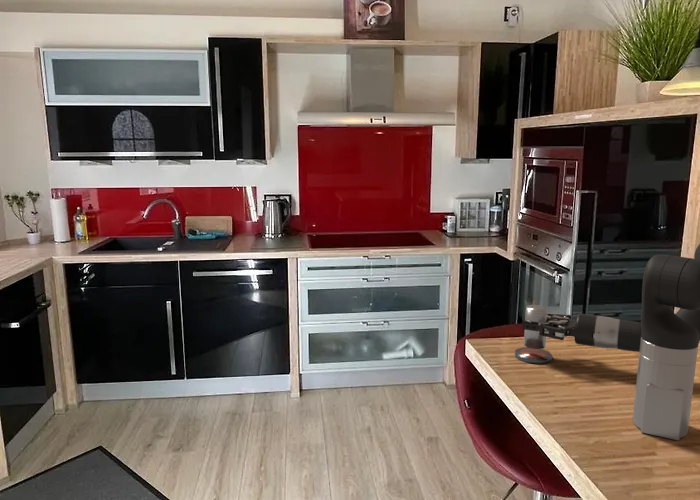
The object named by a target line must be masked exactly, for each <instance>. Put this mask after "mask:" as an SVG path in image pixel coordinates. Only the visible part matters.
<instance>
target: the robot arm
mask: <svg viewBox="0 0 700 500" xmlns="http://www.w3.org/2000/svg"><path fill="white" fill-rule="evenodd" d="M643 271H644V272H643V278H642V286H641V287H642V288H641V310H640V311H641V314H640V322H639V321H635V320H634V321H633V320H627V319H626V320H625V319H620V318H614V317H609V316H604V315H602V316H601V315H594V314H586V313H578V314H577V316H576V319H573V318H572V314H562V313H561V314H560V313H547V323H546V322H539V323H538V322H533V321H526V320H525V319H524V320H523V321H522V329H523V330H524V331H525V330H531V331H538V333H539V335H540V336H545V337H546V338H551V339H555V340H559V341H564V340H565V338H567V337H573V338H574V342H575V344H576V345H580V346H587V347H594V348H600V349H609V350H610V349H614V350H620V351H627V352H634V353H635V352H637V353H638V354H639V355H638V364H637V371H636V372H637V373H636V381H635V392H634V403H633V414H632V422H633V424H634V425H635V427H636V428H639V429H640V433H644V434H648V435H652V436H657V437H661V438H666V439H669V440H670V439H671V440H675V441H680V439H681V438H684V437H685V436H687V435H688V434H689V427H690V418H691V417H690V416H691V408H692V401H693V391H694V386H695V385H694V384H695V383H694V382H695V376H696V367H697V360H698V353H699V352H698V351H699V346H700V345H699V343H700V243H699V244H698V245H697V247H696V248H695V251H694V258H691V257H685V256H676V255H669V254H655V255H653V256H651V257H650V259H648V261H647V263H646V264H645V267H644V270H643ZM671 307H674V308H677V309H679V310H677V311H676V313H675V312H674V311H673V310H672V308H671ZM545 329H546V330H545Z"/></svg>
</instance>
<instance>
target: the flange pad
mask: <svg viewBox="0 0 700 500" xmlns="http://www.w3.org/2000/svg"><path fill="white" fill-rule="evenodd" d="M514 357H515V358H516V359H517V360H519V361H521V362H524V363H528V364H533V365H543V364H545V365H546V364H549V363H551V362H552V360H553V355H552V353H551V352H550V351H548V350H546V349H544V348H542V349H532V348H528V347H526V346H524V347H518V348H516V349H515V352H514Z"/></svg>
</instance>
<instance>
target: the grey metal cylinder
mask: <svg viewBox="0 0 700 500" xmlns="http://www.w3.org/2000/svg"><path fill="white" fill-rule="evenodd" d="M524 314H525V316H524V320H526V321H533V322H538V323H539V322H546V323H547V314H548V307H547V306H544V305H538V304H529V305H528V304H527V305H526V306H525V313H524ZM545 330H547V329H545ZM523 337H524V338H523V346H524V347H528V348H532V349H545V348H546V344H547V343H546V341H547V339H546V338H547V337H545V336H540V335H539V333H538V331H531V330H525V329H524V335H523Z"/></svg>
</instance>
